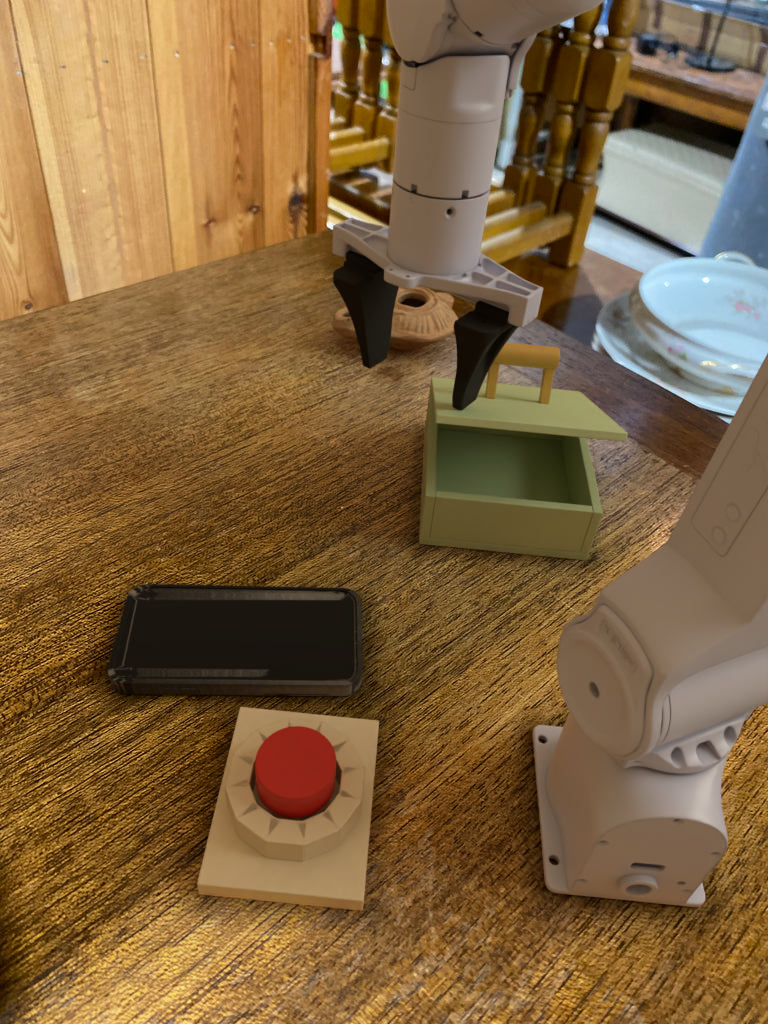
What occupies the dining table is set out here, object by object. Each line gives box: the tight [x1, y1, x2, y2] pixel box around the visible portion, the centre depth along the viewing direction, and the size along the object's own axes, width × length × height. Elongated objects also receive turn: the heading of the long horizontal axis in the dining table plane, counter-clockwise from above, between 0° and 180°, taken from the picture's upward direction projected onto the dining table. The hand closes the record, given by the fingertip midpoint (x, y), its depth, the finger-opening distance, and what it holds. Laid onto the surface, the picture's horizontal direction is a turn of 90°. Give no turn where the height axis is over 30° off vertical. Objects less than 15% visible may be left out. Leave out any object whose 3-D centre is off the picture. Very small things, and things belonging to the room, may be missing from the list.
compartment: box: [418, 384, 604, 561], centre depth 61 cm, size 14×12×5 cm
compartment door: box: [430, 341, 629, 443], centre depth 57 cm, size 15×12×5 cm
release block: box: [196, 706, 380, 912], centre depth 41 cm, size 10×8×3 cm
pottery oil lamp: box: [330, 286, 459, 351], centre depth 77 cm, size 9×12×7 cm
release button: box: [255, 726, 336, 818], centre depth 39 cm, size 4×4×2 cm
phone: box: [107, 583, 364, 697], centre depth 49 cm, size 8×1×15 cm
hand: (418, 382), depth 54 cm, fingers open, 7 cm apart
